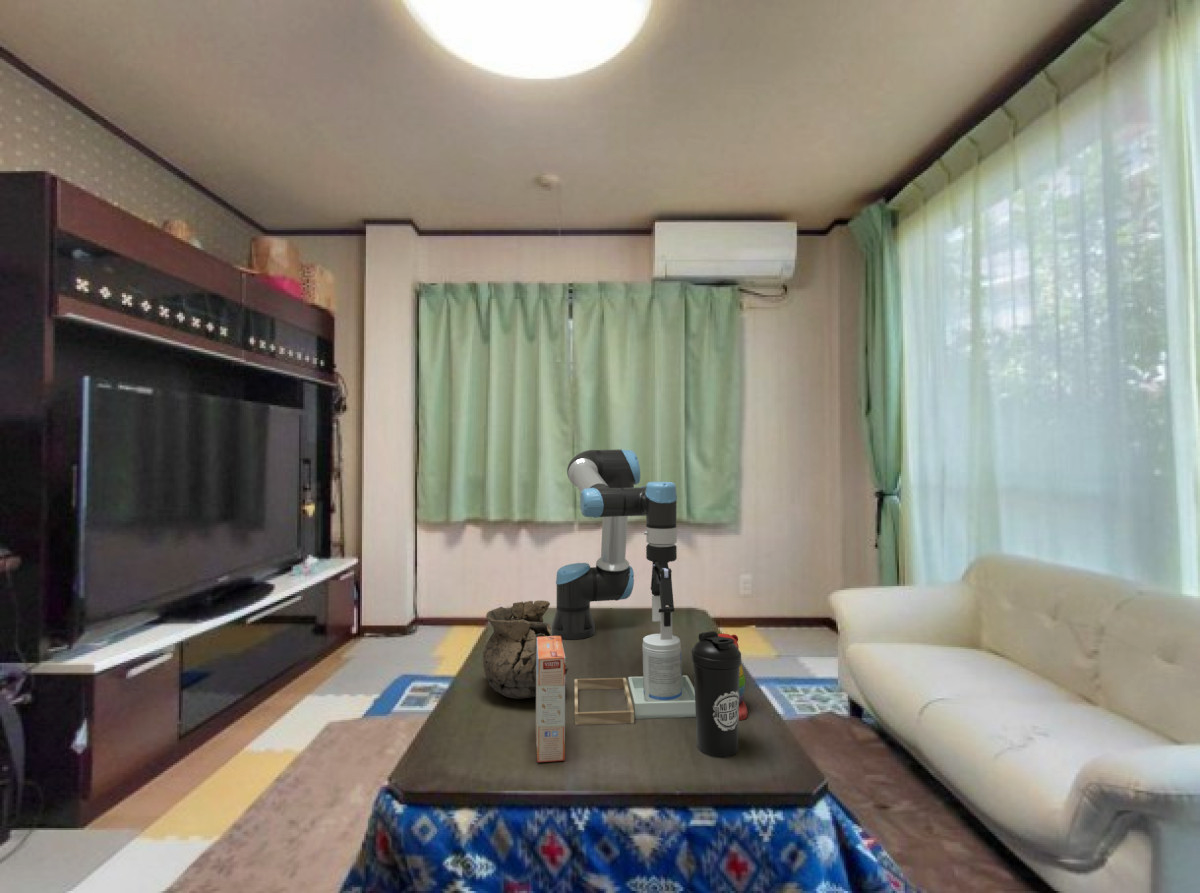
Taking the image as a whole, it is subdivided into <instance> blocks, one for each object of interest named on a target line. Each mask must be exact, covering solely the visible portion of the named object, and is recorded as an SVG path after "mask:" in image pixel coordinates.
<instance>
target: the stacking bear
mask: <svg viewBox="0 0 1200 893" xmlns="http://www.w3.org/2000/svg"><path fill="white" fill-rule="evenodd" d="M717 634H718V636H720V637H725V638H731V639H733V640H734V643H733V644H735V645H736V646H737V648H738V650H739V651H740V649H739V637H738V636H737V635H736V634H729V633H724V632H723V633H717ZM745 689H746V677H745V673H744V669H743V665H742V664H741V665H740V667H739V721H742V720H745V719H747V716H748V708H747V705H746V703H745V701H744V696H745V692H746V691H745Z"/></svg>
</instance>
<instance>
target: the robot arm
mask: <svg viewBox="0 0 1200 893" xmlns="http://www.w3.org/2000/svg"><path fill="white" fill-rule="evenodd" d="M566 473H567V474H566V475H567V478H568V479H569V481H570V483H571V484H572V485H573V486H575V487H577V489H578V490H579V492H580V496H579V502H580V503H579V506H580V511H581V515H582V516H583V517H585V518H595V519H596V518H602V524H601V527H602V528H601V544H600V545H601V547H600V548H601V549H600V557H599V558H598V559H597V560H596V563H595V566H593V567H591V565H590V564H589V563H587V562H576V563H569V564H566V565H563V566H561V567H560V568H558V569H557V572H556V580H555V585H556V610H555V611H556V612H555V615H554V618H553V622H552V625H551V635H552V636H561V638H562V640H581V639H586V638H589V637H592V636H594V634H596V624H595V622H594V618H593V616H592V612H591V603H592V602H606V601H607V602H608V601H609V602H611V601H620V600H627V599H628V598H630V597H631V595H632V593H633V589H634V584H635V579H634V576H635V574H634V569H633V567H632V566H631V565H630V562H629V561H628V560H627V559H626V552H627V534H628V519H629V518H628V517H641V516H642V517H645V518H646V519H645V522H646V524H645V525H646V530H644V531H643V534H644V535H645V536H646V540H645V541H646V543H648V544H646V546H645V547H646V548H645V551H646V552H645V553H646V554H645V555H646V556H645V558H646V560H647V561H649V562H652V567H651V579H650V580H651V582H650V591H651V595H652V596H651V621H652V622H660V626H659V628H660V632H659V634H660V636H661V640H671V639H672V635H673V613H675V605H674V604H675V603H674V594H673V593H674V592H673V582H672V571H673V570H672V568H670V567H669V563H670V562H675V561H676V560H677V556H678V555H677V554H678V553H677V552H678V551H677V550H678V549H677V548H678V547H677V545H676V544H677V543H678V542H677V541H678V540H677V539H678V538H677V537H678V530H677V528H678V527H677V503H678V502H677V499H678V496H677V495H678V494H677V486H676V484H675V482H671V481H649V482H647V483H646V486H645V485H643V486H640V487H635V485H639V483H640V482H641V467H640V461H639V459H638V456H637V453H635V452H634V451H633V450H628V449H622V448H621V449H588V450H584V451H582V452H580V453H578V454H576V455H574V457H573V458H571V460H570V461H569V462H568V465H567V468H566Z"/></svg>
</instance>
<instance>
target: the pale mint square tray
mask: <svg viewBox="0 0 1200 893" xmlns="http://www.w3.org/2000/svg"><path fill="white" fill-rule="evenodd" d="M627 684H628V689H629V693H630V697H631V701H632V705H633V709H634V720H641V719H643V720H644V719H674V718H676V719H679V718H696V711H695V686H693V685H694V684H693V683H692V681H691V680H690V678H689V676H688V675H686V674H685V675H684V674H682V698H681V700H680V701H657V702H648V701H647V700H646V699H645V698H644V692H643V675H642V676H628V677H627Z"/></svg>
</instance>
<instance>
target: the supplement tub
mask: <svg viewBox="0 0 1200 893" xmlns="http://www.w3.org/2000/svg"><path fill="white" fill-rule="evenodd" d="M682 670H683V669H682V645H681V639H680V638H679V636H676V635H674V634H672V639H671V640H661V636H660V633H651V634H648V635H646V636H644V637H643V638H642V676H643V692H644V698H645V699H646V700H647V701H648V702H657V701H680V700H681V698H682V675H683V674H682Z"/></svg>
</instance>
